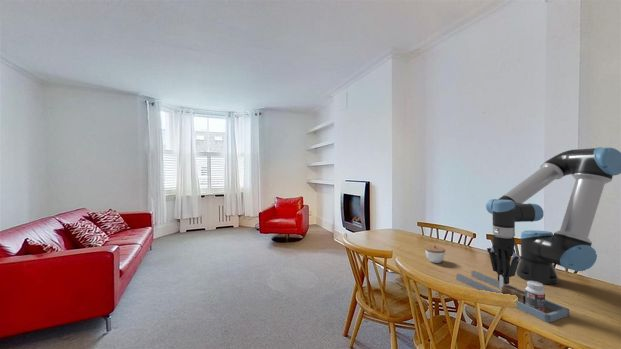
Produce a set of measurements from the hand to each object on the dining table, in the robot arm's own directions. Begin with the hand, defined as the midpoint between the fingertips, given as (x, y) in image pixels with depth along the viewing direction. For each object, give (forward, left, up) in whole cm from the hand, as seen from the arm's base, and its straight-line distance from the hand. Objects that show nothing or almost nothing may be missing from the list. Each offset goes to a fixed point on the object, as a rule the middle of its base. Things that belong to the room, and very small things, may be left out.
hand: (503, 290), depth 107 cm
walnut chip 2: (-5, +4, -2) cm, 7 cm away
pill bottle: (-9, +7, -2) cm, 12 cm away
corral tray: (-8, +7, -2) cm, 11 cm away
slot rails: (+6, -5, -2) cm, 8 cm away
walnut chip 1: (-2, +2, -2) cm, 3 cm away
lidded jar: (+29, -29, -2) cm, 41 cm away
